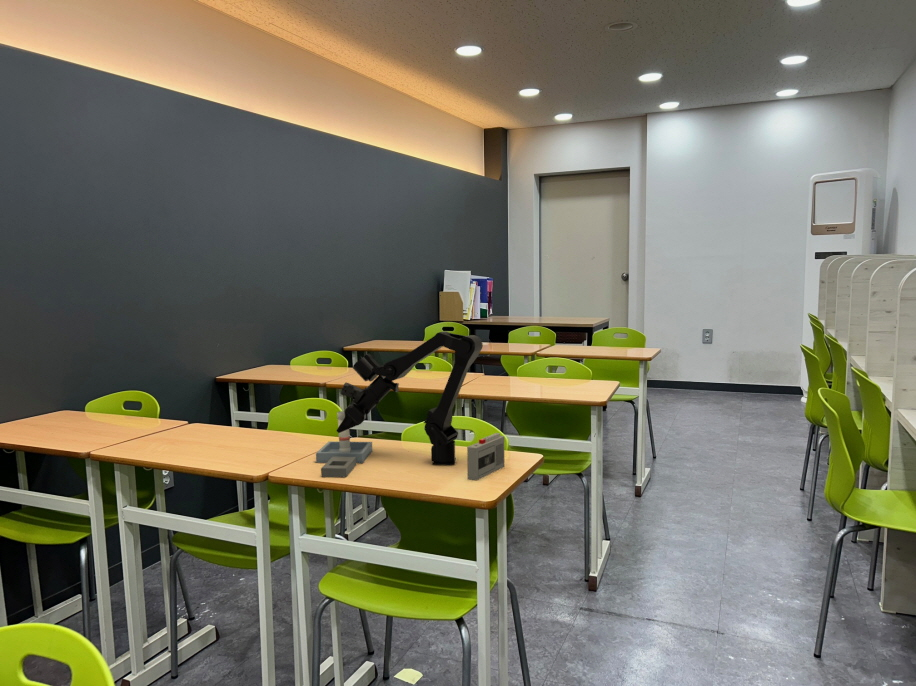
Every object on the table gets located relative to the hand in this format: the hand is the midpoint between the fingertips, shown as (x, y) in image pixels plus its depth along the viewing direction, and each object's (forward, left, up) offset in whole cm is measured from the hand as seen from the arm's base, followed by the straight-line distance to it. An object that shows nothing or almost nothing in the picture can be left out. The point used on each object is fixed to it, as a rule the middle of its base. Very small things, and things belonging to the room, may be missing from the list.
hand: (340, 428), depth 200 cm
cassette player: (-45, +15, -9) cm, 48 cm away
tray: (-1, 0, -9) cm, 9 cm away
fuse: (-1, 0, -8) cm, 8 cm away
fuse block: (-3, +15, -9) cm, 18 cm away
